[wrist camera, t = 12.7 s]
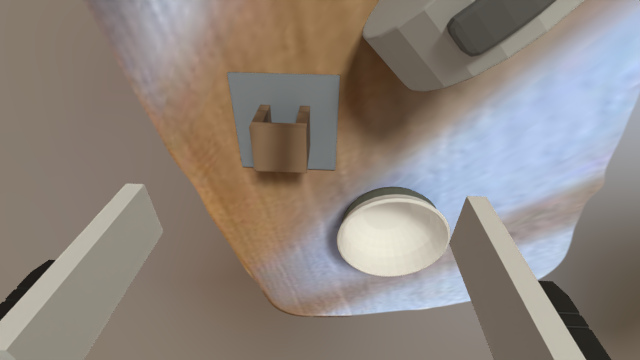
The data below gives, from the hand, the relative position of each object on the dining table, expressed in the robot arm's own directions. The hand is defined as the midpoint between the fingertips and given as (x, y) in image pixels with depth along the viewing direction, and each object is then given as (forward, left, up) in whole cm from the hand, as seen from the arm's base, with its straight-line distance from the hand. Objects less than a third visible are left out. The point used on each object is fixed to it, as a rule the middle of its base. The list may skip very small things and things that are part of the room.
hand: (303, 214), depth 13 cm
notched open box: (+13, -6, -34) cm, 37 cm away
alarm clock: (-7, +14, -35) cm, 38 cm away
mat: (+13, -6, -35) cm, 38 cm away
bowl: (+30, +12, -35) cm, 48 cm away
